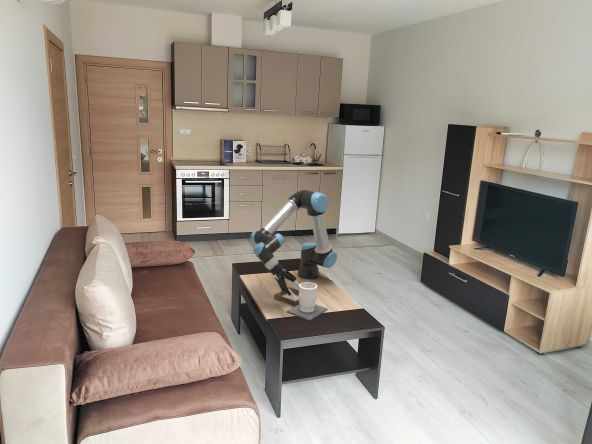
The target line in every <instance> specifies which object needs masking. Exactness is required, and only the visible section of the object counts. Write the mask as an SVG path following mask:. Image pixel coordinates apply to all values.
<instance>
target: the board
mask: <svg viewBox="0 0 592 444" xmlns="http://www.w3.org/2000/svg"><path fill="white" fill-rule="evenodd" d="M300 307H301V306H300V304H298V305H296V306H292V307H291V308H289V309H287V310H286V313H287V314H291V315H292V316H296V317H299V318H300V319H303V320H306V321H309V322H310V321H312V320H314V319H315V318H317V317H319V316H321V315H322V314H323V313H325V312H326V311H328V307H324V306H321V305H319V304H316V303H315V306H314V311H313V312H310V313H306V312H302V311H301V310H300Z"/></svg>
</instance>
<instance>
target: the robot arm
mask: <svg viewBox="0 0 592 444" xmlns="http://www.w3.org/2000/svg"><path fill="white" fill-rule="evenodd" d="M328 205H329V200H328V197H327V196H326V194H324V193H321V192H319V191H312V190H307V189H301V190H298V191H296V192H295V193H293V194H291V195H290V196H289V197H288V198H287V199H286V200H285V204H283V206H282V207H280V208H279V210H277V212H276V213H275V214H274V215H273V216H272V217H271V218H270V219H269V220H268V221H267V222H266V223H265V224H264V225H263V226H262V227H261V228H260V229H259V230H253V231H252V233H251V234H250V240H251V242H252V243H254V244H256V245H255V247H253V249H252V252H253V254H254V255H255V256H256V257H257V258H258V259H259V261H261V263H262V264H263V265H264V267H265V268H266V269H267V270H269V272H270V274H271V275H273V276H275V277H274V279H275V281H276V283H277V284H278V286H279V288H280V291H282V292H286V293H287V294H286V295H288V298H289V299H292V300H294V301H295V300H297V299H298V298H297V295H296V294H293V292H292V291H291V290H290V289H288V287H289V286H288V285H287V282H286V280H288V281H290V282H291V283H292V284H293V286H294V287H295V289H297V290H300V288H299V285H300V284H301V283H299V282H298V281H297V279H298V278H297V277H296V276H295V275H294V274H293V273H291V272H290V271H288V269H286V268H285V267H284V266H283V264H282V263H281V262H279V260H278V259H277V257H276V256H274V253H275V252H276V251H278V250H279V249H280V248H282V246H283V245H284V244H285V242H286V240H285V237H284V236H283V235H282V234H280V233H277V231H278V229H279V228H280V227H281V226H282V225H284V224H285V222H286V221H287V220H288V219H289V218H290V217H291V215H293V213H295V212H298V211H299V210H300V209H306V213H307V216H309V217H310V221H311V226H312V231H313V236H314V242H313V241H311V242H305V243H303V244H301V248H300V265H299V267H298V270H297V276H298V277H299V278H301V279H306V280H314V279H318V278H319V277H320V269H319V266H321V267H323V268H326V269H330V268H333V266H335V264H336V262H337V259H338V254H337V252H336V251H334V250H333V245H331V244H330V242H329V236H328V232H327V225H326V219H325V213H326V212H327V209H328ZM275 232H276V234H275Z"/></svg>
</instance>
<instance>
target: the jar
mask: <svg viewBox="0 0 592 444" xmlns="http://www.w3.org/2000/svg"><path fill="white" fill-rule="evenodd" d="M299 284H300V285H299V288H300V290H299V295H298V299H299V303H300V306H301V307H300V310H301V311H302V312H306V313H310V312H313V311H314V306H315V304H316V303H317V299H318V291H317V289H318V284H316V283H314V282H309V281H308V282H307V281H306V282H305V281H304V282H301V283H299Z"/></svg>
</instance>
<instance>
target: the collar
mask: <svg viewBox="0 0 592 444" xmlns="http://www.w3.org/2000/svg"><path fill="white" fill-rule="evenodd" d="M287 287H288V289H290V290H291V291H292V292H293V294H294V295H295V296H299V290H298V289H297V288H294V287H291V286H287ZM285 295H288V294H287V293H286V292H282V290H279V291H278V292H275V293H274V294H273V300H275V301H277V302H278V301H279V302H282V303H284V304H287V305H290V306H292V307H295V306H296V305H298V304H300V303H299V298H296V299H294V300H292V299H291V298H290V297H286V296H285ZM284 296H285V297H284Z"/></svg>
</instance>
